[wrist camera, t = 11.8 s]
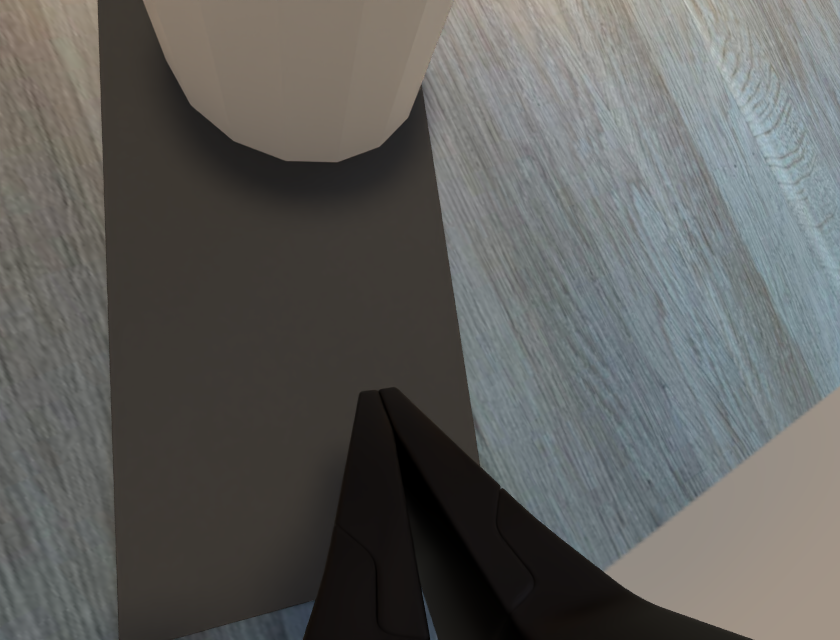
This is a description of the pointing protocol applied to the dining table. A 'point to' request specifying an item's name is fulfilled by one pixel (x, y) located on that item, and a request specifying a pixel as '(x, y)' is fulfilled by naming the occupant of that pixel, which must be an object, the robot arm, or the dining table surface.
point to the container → (301, 68)
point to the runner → (252, 339)
